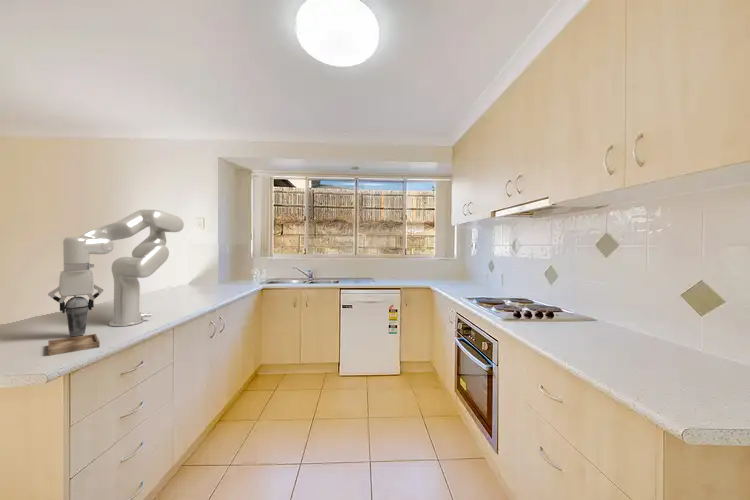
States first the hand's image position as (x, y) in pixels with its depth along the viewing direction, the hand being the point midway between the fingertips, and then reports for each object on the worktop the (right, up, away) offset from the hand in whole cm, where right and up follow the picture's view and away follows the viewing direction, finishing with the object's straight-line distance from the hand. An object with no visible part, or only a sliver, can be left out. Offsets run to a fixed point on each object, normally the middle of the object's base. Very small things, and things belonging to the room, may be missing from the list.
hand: (77, 310), depth 125 cm
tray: (+10, -11, -11) cm, 19 cm away
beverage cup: (0, -10, 0) cm, 10 cm away
